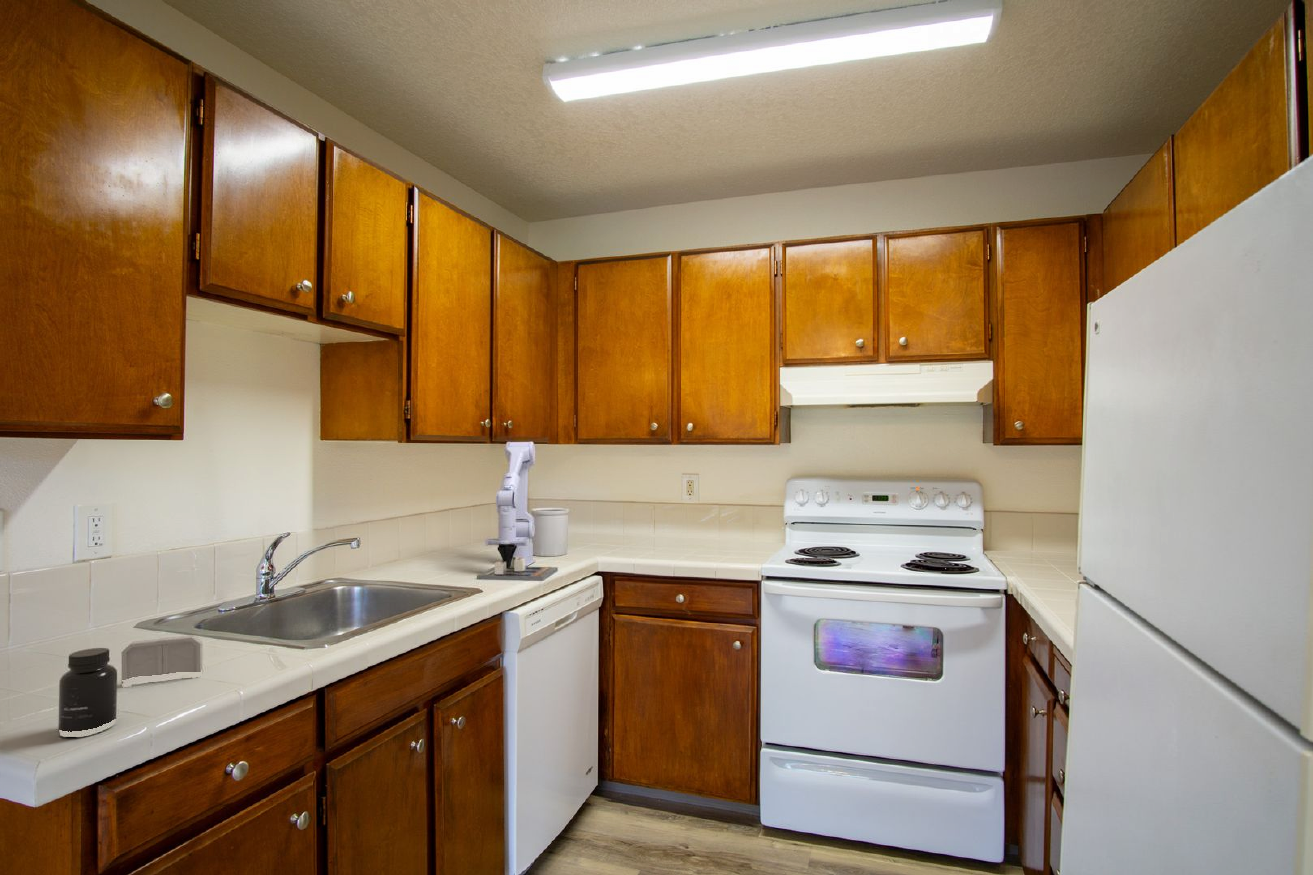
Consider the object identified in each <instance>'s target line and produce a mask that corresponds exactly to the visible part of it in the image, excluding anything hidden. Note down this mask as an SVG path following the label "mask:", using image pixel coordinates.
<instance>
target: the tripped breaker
mask: <svg viewBox="0 0 1313 875" xmlns="http://www.w3.org/2000/svg"><path fill="white" fill-rule="evenodd" d="M525 567H526V566H525V559H523V558H519V559H516V560H514V571H524V570H525Z"/></svg>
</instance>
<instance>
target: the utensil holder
mask: <svg viewBox="0 0 1313 875" xmlns="http://www.w3.org/2000/svg"><path fill="white" fill-rule="evenodd" d="M569 514H570V509H569V508H565V507H564V508H563V507H538V508H532V509H530V515H531V516H533V518H534V525H535V533H534V536H533V538H531V542H532V544H533V556H536V557H559V556H565V555H567V554H568V546H569V545H568V541H569Z"/></svg>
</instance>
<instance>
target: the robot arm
mask: <svg viewBox="0 0 1313 875" xmlns="http://www.w3.org/2000/svg"><path fill="white" fill-rule="evenodd" d="M504 452H505V453H504V454H505V457H506V459H507V461H508V465H507V472H506V473H505V474H504V475H502V476H503V477H502V481H501V485H500V489H499V491H497V492H496V495H495V505H496V512H497V513H498V514H497V516H498V519H497V521H498V524H497V525H498V526H497V527H498V532H497V533H498V538H486V539H485V540H484V541H485V542H484V544H485V546H497V548H496V549H497V551H498V552H499V554H500V558H501V560H502V562H506V568H509V567H510V566H511V561H512V558H513V556H518V559H519V558H523V559H525V567H529V565H532V564H533V563H535V562H536V560H535V559H534V555H533V544H532V538H533V536H534V533H535V525H534V518H533V516H532V514H531V513H529V512H528V496H529V495H528V493H529V474H530V468H531V467H533V466H534V465H535V461H536V446H535V443H534V442H533V441H507V442H506V444H505V449H504Z"/></svg>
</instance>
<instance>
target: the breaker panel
mask: <svg viewBox="0 0 1313 875" xmlns="http://www.w3.org/2000/svg"><path fill="white" fill-rule="evenodd" d="M516 559H518V556H513V558H512V561H511V566H510V567H509V568H506V562H503V560H502V561H496V562H494V566H493V567H491V568H489V569H487V570H485V571H483V572H481V573H479V574H477V575H476V580H493V581H495V580H496V581H497V580H499V581H500V580H501V581H534V582H535V581H536V582H538V581H539V582H543V581H545V580H546V579H548V578H549V577H550V576H552V575H554V574H555V573H557V572H558V570H559V568H558V567H556V566H554V567H553V566H525V570H524V571H514V560H516Z"/></svg>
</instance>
